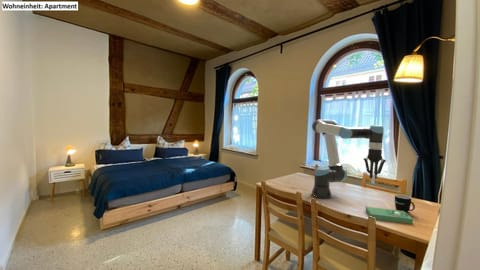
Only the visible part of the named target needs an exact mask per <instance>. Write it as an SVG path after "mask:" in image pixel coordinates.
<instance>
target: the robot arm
mask: <svg viewBox="0 0 480 270" xmlns="http://www.w3.org/2000/svg"><path fill="white" fill-rule="evenodd" d="M311 128H312V131H313V132H315V133H318V134H321V135H322V136H323V137H324V140H325V147H326V154H327V160H328V165H327V166H318V167H316V168H315V169H314V173H313V175H314V178H313V179H314V180H313V181H314V185H313V187H312V191H311V195H312V194H313V195H315V196H317V197H320V198H319V199H323V198H327V199H331V198H332V191H331V189H330V184H332V183H342V182H344V181H346V179H347V177H348V172H347V170H346V168H345V167H343V164H341V162H340V155H339V150H338V143H337V139H336V137H340V139H345V140H346V139H347V140H348V139H368V153H367V156H366V157H363V161H364V163H365V169H366V172H367V173H369V179H370V183H371V184H372V185H375V183H376V181H375V180H376V179H377V177H378V174H382V173H381V172H382V170H383V168H384V165H385V163H386V162H387V160H386V159H384V158H383V156H382V154H383V150H382V149H383V140H384V126H383V125H376V124H375V125H370V126H369V127H364V126H363V127H362V126H361V127H359V126H358V127H348V126H342V125H340V124H339V123H338V122H337V120H334V119H316V120H314V121H313V122H312V124H311ZM379 162H380V163H379ZM369 163H370V164H369ZM313 195H312V196H313ZM317 197H316V198H317Z"/></svg>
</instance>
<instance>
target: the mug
mask: <svg viewBox="0 0 480 270" xmlns="http://www.w3.org/2000/svg"><path fill="white" fill-rule="evenodd" d="M411 205H412V209H411ZM394 207H395V210H399V211H405V212H406V213H407V214H408V213H409V211H410V212H413V211H414V210H415V209H416V205H415V203H414V202H413V201H412V196H409V195H406V194H400V193H399V194H398V193H397V194H394Z"/></svg>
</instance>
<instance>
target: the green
mask: <svg viewBox="0 0 480 270" xmlns="http://www.w3.org/2000/svg"><path fill="white" fill-rule="evenodd" d="M365 212H366V214H367V216H368V217H369V216H372V217H375V218H376V219H375V220H378V221H386V222H387V221H388V222H394V223H402V224H409V225H411V224H413V223H414V222H413V221H414V220H413V218H412V217H411V215H409V214H408V212H407V213H406V212H405V211H399V210H396V209H390V208H389V209H388V208H382V207H381V208H379V207H370V206H365ZM394 212H399V213H400V214H401V216H400V215H395V214H393V213H394Z"/></svg>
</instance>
